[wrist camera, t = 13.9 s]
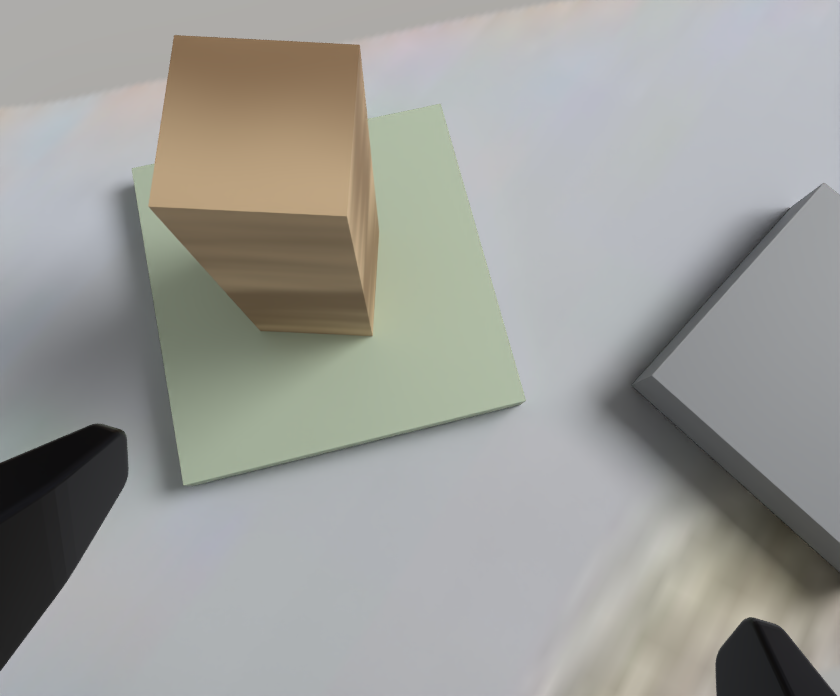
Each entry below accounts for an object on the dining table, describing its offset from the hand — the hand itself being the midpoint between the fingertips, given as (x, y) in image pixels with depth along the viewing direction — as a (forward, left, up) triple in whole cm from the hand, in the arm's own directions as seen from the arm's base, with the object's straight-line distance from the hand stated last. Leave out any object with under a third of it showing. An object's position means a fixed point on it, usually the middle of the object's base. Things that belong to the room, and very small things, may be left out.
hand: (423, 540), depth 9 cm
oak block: (+5, +8, -13) cm, 15 cm away
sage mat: (+5, +8, -14) cm, 16 cm away
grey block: (+13, -9, -14) cm, 21 cm away
